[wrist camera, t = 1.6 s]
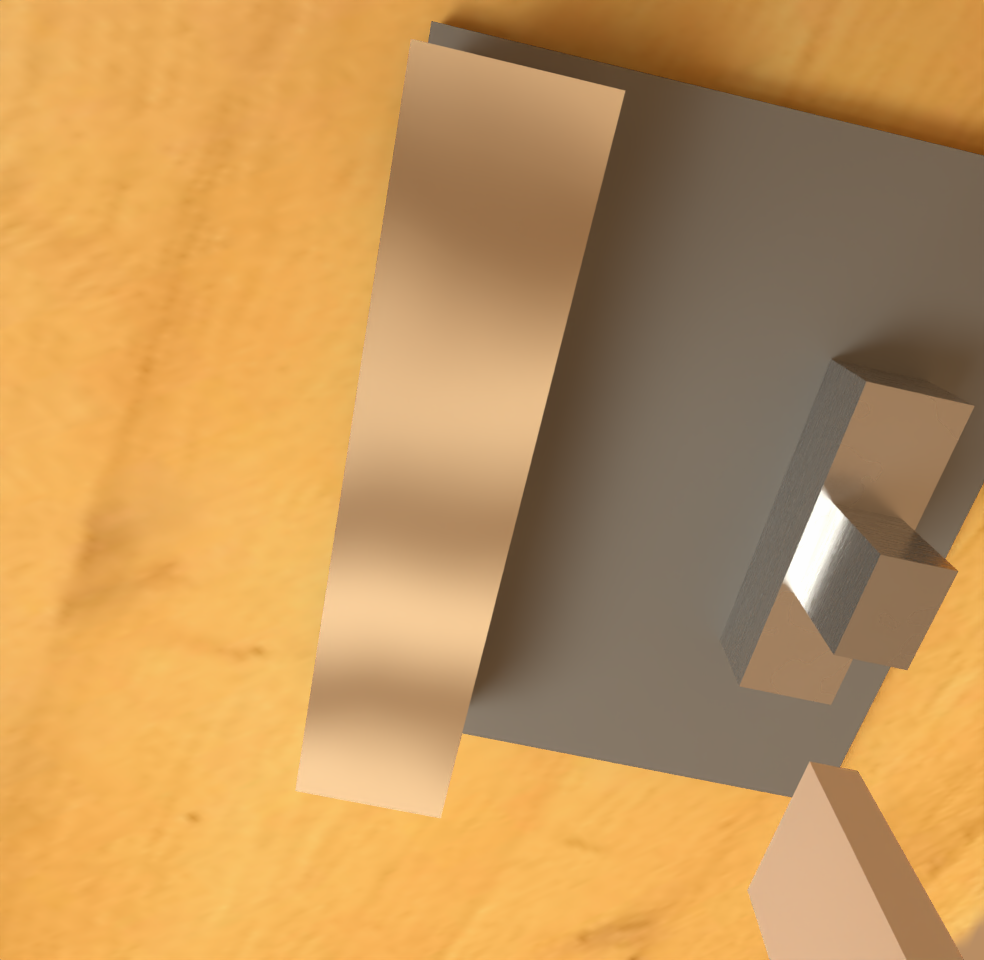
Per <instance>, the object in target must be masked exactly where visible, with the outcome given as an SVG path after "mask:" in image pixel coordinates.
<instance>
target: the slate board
mask: <svg viewBox="0 0 984 960" xmlns="http://www.w3.org/2000/svg"><path fill="white" fill-rule="evenodd" d="M428 43H431V44H435V45H439V46H443V47H447V48H451V49H456V50H460V51H464V52H468V53H472V54H476V55H480V56H484V57H489V58H493V59H497V60H501V61H505V62H509V63H513V64H517V65H522V66H526V67H530V68H534V69H538V70H542V71H546V72H551V73H555V74H559V75H563V76H567V77H571V78H575V79H579V80H584V81H588V82H592V83H596V84H600V85H604V86H608V87H612V88H617V89H621V90H625V94H624V98H623V102H622V106H621V110H620V114H619V118H618V122H617V126H616V130H615V133H614V137H613V141H612V145H611V149H610V153H609V157H608V161H607V165H606V169H605V173H604V177H603V181H602V185H601V189H600V193H599V196H598V200H597V204H596V208H595V212H594V216H593V220H592V224H591V228H590V232H589V236H588V240H587V244H586V248H585V252H584V255H583V259H582V263H581V267H580V271H579V275H578V279H577V283H576V287H575V291H574V295H573V299H572V303H571V307H570V311H569V315H568V318H567V322H566V326H565V330H564V334H563V338H562V342H561V346H560V350H559V354H558V358H557V362H556V366H555V370H554V374H553V377H552V381H551V385H550V389H549V393H548V397H547V401H546V405H545V409H544V413H543V417H542V421H541V425H540V429H539V433H538V436H537V440H536V444H535V448H534V452H533V456H532V460H531V464H530V468H529V472H528V476H527V480H526V484H525V488H524V492H523V496H522V499H521V503H520V507H519V511H518V515H517V519H516V523H515V527H514V531H513V535H512V539H511V543H510V547H509V551H508V555H507V558H506V562H505V566H504V570H503V574H502V578H501V582H500V586H499V590H498V594H497V598H496V602H495V606H494V610H493V614H492V618H491V621H490V625H489V629H488V633H487V637H486V641H485V645H484V649H483V653H482V657H481V661H480V665H479V669H478V673H477V677H476V680H475V684H474V688H473V692H472V696H471V700H470V704H469V708H468V712H467V716H466V720H465V724H464V728H463V732H462V733H464V734H469V735H474V736H479V737H484V738H489V739H495V740H500V741H505V742H510V743H515V744H520V745H525V746H531V747H536V748H541V749H546V750H551V751H556V752H561V753H567V754H572V755H577V756H582V757H587V758H592V759H597V760H602V761H608V762H613V763H618V764H623V765H628V766H633V767H638V768H644V769H649V770H654V771H659V772H664V773H669V774H674V775H680V776H685V777H690V778H695V779H700V780H705V781H710V782H716V783H721V784H726V785H731V786H736V787H741V788H746V789H752V790H757V791H762V792H767V793H772V794H777V795H782V796H788V797H793V795H794V793H795V790H796V788H797V786H798V784H799V782H800V780H801V778H802V776H803V774H804V772H805V770H806V768H807V766H808V764H809V761H810V762H815V763H820V764H825V765H830V766H835V767H840V766H841V764H842V762H843V760H844V758H845V756H846V754H847V752H848V750H849V748H850V746H851V744H852V742H853V740H854V738H855V736H856V734H857V732H858V730H859V728H860V726H861V724H862V722H863V720H864V718H865V716H866V714H867V712H868V710H869V708H870V706H871V704H872V702H873V701H874V699H875V697H876V695H877V693H878V691H879V689H880V687H881V685H882V683H883V681H884V679H885V677H886V675H887V673H888V671H889V669H890V666H885V665H880V664H875V663H870V662H865V661H860V660H856V659H853V660H852V662H851V664H850V667H849V669H848V671H847V673H846V675H845V677H844V679H843V681H842V683H841V685H840V687H839V689H838V692H837V694H836V696H835V698H834V700H833V702H832V704H831V705H829V704H824V703H819V702H814V701H809V700H804V699H799V698H794V697H789V696H784V695H780V694H775V693H770V692H765V691H760V690H755V689H750V688H745V687H740V686H739V685H738V682H737V680H736V678H735V675H734V673H733V670H732V668H731V666H730V663H729V661H728V659H727V656H726V654H725V651H724V649H723V647H722V644H721V642H720V638H721V636H722V633H723V631H724V628H725V626H726V623H727V621H728V618H729V616H730V613H731V611H732V608H733V605H734V603H735V600H736V598H737V595H738V593H739V590H740V588H741V585H742V583H743V580H744V578H745V575H746V573H747V570H748V567H749V565H750V562H751V560H752V557H753V555H754V552H755V550H756V547H757V545H758V542H759V540H760V537H761V535H762V532H763V529H764V527H765V524H766V522H767V519H768V517H769V514H770V512H771V509H772V507H773V504H774V502H775V499H776V497H777V494H778V491H779V489H780V486H781V484H782V481H783V479H784V476H785V474H786V471H787V469H788V466H789V464H790V461H791V459H792V456H793V453H794V451H795V448H796V446H797V443H798V441H799V438H800V436H801V433H802V431H803V428H804V426H805V423H806V421H807V418H808V415H809V413H810V410H811V408H812V405H813V403H814V400H815V398H816V395H817V393H818V390H819V388H820V385H821V383H822V380H823V377H824V375H825V372H826V370H827V367H828V365H829V362H830V360H831V359H833V360H837V361H842V362H846V363H851V364H855V365H859V366H864V367H868V368H873V369H877V370H882V371H886V372H890V373H895V374H899V375H904V376H908V377H912V378H917V379H921V380H926V381H929V382H931V383H933V384H935V385H936V386H938V387H940V388H942V389H944V390H946V391H948V392H950V393H951V394H953V395H955V396H957V397H959V398H961V399H963V400H965V401H966V402H968V403H970V404H972V405H974V408H973V410H972V412H971V415H970V417H969V419H968V421H967V423H966V425H965V427H964V429H963V431H962V433H961V435H960V437H959V440H958V442H957V444H956V446H955V448H954V450H953V452H952V454H951V456H950V458H949V460H948V462H947V465H946V467H945V469H944V471H943V473H942V475H941V477H940V479H939V481H938V483H937V485H936V487H935V490H934V492H933V494H932V496H931V498H930V500H929V502H928V504H927V506H926V508H925V510H924V512H923V515H922V517H921V519H920V521H919V523H918V525H917V527H916V529H915V532H917V533H918V534H919V535H920V536H921V537H922V538H923V539H924V540H925V541H926V542H927V543H928V544H929V545H931V546H932V547H933V548H934V549H935V550H936V551H937V552H938V553H939V554H940V555H941V556H942V557H943V558H944V559H945V558H946V556H947V554H948V552H949V550H950V548H951V546H952V544H953V542H954V540H955V538H956V536H957V534H958V532H959V530H960V528H961V526H962V524H963V522H964V520H965V518H966V516H967V515H968V513H969V511H970V509H971V507H972V505H973V503H974V501H975V499H976V497H977V495H978V493H979V491H980V489H981V487H982V485H983V483H984V156H983V155H979V154H975V153H971V152H967V151H963V150H959V149H954V148H950V147H946V146H942V145H938V144H934V143H930V142H926V141H922V140H917V139H913V138H909V137H905V136H901V135H897V134H893V133H889V132H885V131H881V130H876V129H872V128H868V127H864V126H860V125H856V124H852V123H848V122H844V121H840V120H835V119H831V118H827V117H823V116H819V115H815V114H811V113H807V112H803V111H798V110H794V109H790V108H786V107H782V106H778V105H774V104H770V103H766V102H762V101H757V100H753V99H749V98H745V97H741V96H737V95H733V94H729V93H725V92H720V91H716V90H712V89H708V88H704V87H700V86H696V85H692V84H688V83H684V82H679V81H675V80H671V79H667V78H663V77H659V76H655V75H651V74H647V73H642V72H638V71H634V70H630V69H626V68H622V67H618V66H614V65H610V64H606V63H601V62H597V61H593V60H589V59H585V58H581V57H577V56H573V55H569V54H565V53H560V52H556V51H552V50H548V49H544V48H540V47H536V46H532V45H528V44H523V43H519V42H515V41H511V40H507V39H503V38H499V37H495V36H491V35H487V34H482V33H478V32H474V31H470V30H466V29H462V28H458V27H454V26H450V25H445V24H441V23H437V22H433V21H432V22H431V28H430V34H429V41H428Z"/></svg>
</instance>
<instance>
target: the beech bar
mask: <svg viewBox="0 0 984 960" xmlns="http://www.w3.org/2000/svg"><path fill="white" fill-rule="evenodd" d="M624 94H625V90H621V89H617V88H612V87H608V86H604V85H600V84H596V83H592V82H588V81H584V80H579V79H575V78H571V77H567V76H563V75H559V74H555V73H551V72H546V71H542V70H538V69H534V68H530V67H526V66H522V65H517V64H513V63H509V62H505V61H501V60H497V59H493V58H489V57H484V56H480V55H476V54H472V53H468V52H464V51H460V50H456V49H451V48H447V47H443V46H439V45H435V44H431V43H427V42H422V41H418V40H414V39H411V43H410V49H409V56H408V62H407V69H406V75H405V82H404V88H403V95H402V101H401V108H400V114H399V121H398V127H397V134H396V140H395V147H394V153H393V160H392V166H391V173H390V179H389V186H388V192H387V199H386V205H385V212H384V218H383V225H382V231H381V238H380V244H379V251H378V257H377V264H376V270H375V277H374V283H373V290H372V296H371V303H370V309H369V316H368V322H367V329H366V335H365V342H364V348H363V355H362V361H361V368H360V374H359V381H358V387H357V394H356V400H355V407H354V413H353V420H352V426H351V433H350V439H349V446H348V452H347V459H346V465H345V472H344V478H343V485H342V491H341V498H340V504H339V511H338V517H337V524H336V530H335V537H334V543H333V550H332V556H331V563H330V569H329V576H328V582H327V589H326V595H325V602H324V608H323V615H322V621H321V628H320V634H319V641H318V647H317V654H316V660H315V667H314V674H313V680H312V687H311V693H310V700H309V706H308V713H307V719H306V726H305V732H304V739H303V745H302V752H301V758H300V765H299V771H298V778H297V784H296V791H298V792H304V793H309V794H314V795H320V796H325V797H330V798H336V799H341V800H346V801H352V802H357V803H362V804H368V805H373V806H378V807H383V808H389V809H394V810H399V811H405V812H410V813H415V814H421V815H426V816H431V817H437V818H441V814H442V810H443V806H444V802H445V799H446V795H447V791H448V787H449V783H450V779H451V775H452V771H453V767H454V763H455V759H456V755H457V751H458V747H459V743H460V740H461V736H462V732H463V728H464V724H465V720H466V716H467V712H468V708H469V704H470V700H471V696H472V692H473V688H474V684H475V680H476V677H477V673H478V669H479V665H480V661H481V657H482V653H483V649H484V645H485V641H486V637H487V633H488V629H489V625H490V621H491V618H492V614H493V610H494V606H495V602H496V598H497V594H498V590H499V586H500V582H501V578H502V574H503V570H504V566H505V562H506V558H507V555H508V551H509V547H510V543H511V539H512V535H513V531H514V527H515V523H516V519H517V515H518V511H519V507H520V503H521V499H522V496H523V492H524V488H525V484H526V480H527V476H528V472H529V468H530V464H531V460H532V456H533V452H534V448H535V444H536V440H537V436H538V433H539V429H540V425H541V421H542V417H543V413H544V409H545V405H546V401H547V397H548V393H549V389H550V385H551V381H552V377H553V374H554V370H555V366H556V362H557V358H558V354H559V350H560V346H561V342H562V338H563V334H564V330H565V326H566V322H567V318H568V315H569V311H570V307H571V303H572V299H573V295H574V291H575V287H576V283H577V279H578V275H579V271H580V267H581V263H582V259H583V255H584V252H585V248H586V244H587V240H588V236H589V232H590V228H591V224H592V220H593V216H594V212H595V208H596V204H597V200H598V196H599V193H600V189H601V185H602V181H603V177H604V173H605V169H606V165H607V161H608V157H609V153H610V149H611V145H612V141H613V137H614V133H615V130H616V126H617V122H618V118H619V114H620V110H621V106H622V102H623V98H624Z"/></svg>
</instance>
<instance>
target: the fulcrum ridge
mask: <svg viewBox="0 0 984 960" xmlns="http://www.w3.org/2000/svg"><path fill="white" fill-rule="evenodd" d="M973 408H974V405H972V404H970V403H968V402H966V401H965V400H963V399H961V398H959V397H957V396H955V395H953V394H951V393H950V392H948V391H946V390H944V389H942V388H940V387H938V386H936V385H935V384H933V383H931V382H929V381H926V380H921V379H917V378H912V377H908V376H904V375H899V374H895V373H890V372H886V371H882V370H877V369H873V368H868V367H864V366H859V365H855V364H851V363H846V362H842V361H837V360H833V359H831V360H830V362H829V365H828V367H827V370H826V372H825V375H824V377H823V380H822V383H821V385H820V388H819V390H818V393H817V395H816V398H815V400H814V403H813V405H812V408H811V410H810V413H809V415H808V418H807V421H806V423H805V426H804V428H803V431H802V433H801V436H800V438H799V441H798V443H797V446H796V448H795V451H794V453H793V456H792V459H791V461H790V464H789V466H788V469H787V471H786V474H785V476H784V479H783V481H782V484H781V486H780V489H779V491H778V494H777V497H776V499H775V502H774V504H773V507H772V509H771V512H770V514H769V517H768V519H767V522H766V524H765V527H764V529H763V532H762V535H761V537H760V540H759V542H758V545H757V547H756V550H755V552H754V555H753V557H752V560H751V562H750V565H749V567H748V570H747V573H746V575H745V578H744V580H743V583H742V585H741V588H740V590H739V593H738V595H737V598H736V600H735V603H734V605H733V608H732V611H731V613H730V616H729V618H728V621H727V623H726V626H725V628H724V631H723V633H722V636H721V638H720V642H721V644H722V647H723V649H724V651H725V654H726V656H727V659H728V661H729V663H730V666H731V668H732V670H733V673H734V675H735V678H736V680H737V682H738V685H739V686H740V687H745V688H750V689H755V690H760V691H765V692H770V693H775V694H780V695H784V696H789V697H794V698H799V699H804V700H809V701H814V702H819V703H824V704H829V705H831V704H832V702H833V700H834V698H835V696H836V694H837V692H838V689H839V687H840V685H841V683H842V681H843V679H844V677H845V675H846V673H847V671H848V669H849V667H850V664H851V662H852V660H853V659H856V660H860V661H865V662H870V663H875V664H880V665H885V666H890V667H895V668H899V669H904V670H908V668H909V666H910V664H911V662H912V660H913V658H914V656H915V654H916V652H917V650H918V648H919V646H920V644H921V642H922V641H923V639H924V637H925V635H926V633H927V631H928V629H929V627H930V625H931V623H932V621H933V619H934V617H935V615H936V613H937V611H938V610H939V608H940V606H941V604H942V602H943V600H944V598H945V596H946V594H947V592H948V590H949V588H950V586H951V584H952V582H953V581H954V579H955V577H956V575H957V573H958V571H957V570H956V569H955V568H954V567H953V566H952V565H951V564H950V563H949V562H948V561H947V560H946V559H944V558H943V557H942V556H941V555H940V554H939V553H938V552H937V551H936V550H935V549H934V548H933V547H932V546H931V545H929V544H928V543H927V542H926V541H925V540H924V539H923V538H922V537H921V536H920V535H919V534H918V533H917V532H915V529H916V527H917V525H918V523H919V521H920V519H921V517H922V515H923V512H924V510H925V508H926V506H927V504H928V502H929V500H930V498H931V496H932V494H933V492H934V490H935V487H936V485H937V483H938V481H939V479H940V477H941V475H942V473H943V471H944V469H945V467H946V465H947V462H948V460H949V458H950V456H951V454H952V452H953V450H954V448H955V446H956V444H957V442H958V440H959V437H960V435H961V433H962V431H963V429H964V427H965V425H966V423H967V421H968V419H969V417H970V415H971V412H972V410H973Z"/></svg>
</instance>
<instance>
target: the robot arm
mask: <svg viewBox="0 0 984 960" xmlns="http://www.w3.org/2000/svg"><path fill="white" fill-rule="evenodd" d="M748 893H749V896H750V899H751V903H752V906H753V909H754V912H755V915H756V918H757V922H758V925H759V928H760V931H761V934H762V937H763V940H764V944H765V947H766V950H767V953H768V956H769V959H770V960H964V959H963V957H962V956H961V954H960V952H959V950H958V948H957V947H956V945H955V943H954V941H953V940H952V938H951V936H950V934H949V932H948V931H947V929H946V927H945V925H944V924H943V922H942V920H941V918H940V916H939V915H938V913H937V911H936V909H935V908H934V906H933V904H932V902H931V900H930V899H929V897H928V895H927V893H926V891H925V890H924V888H923V886H922V884H921V883H920V881H919V879H918V877H917V875H916V874H915V872H914V870H913V868H912V867H911V865H910V863H909V861H908V859H907V858H906V856H905V854H904V852H903V850H902V849H901V847H900V845H899V843H898V842H897V840H896V838H895V836H894V834H893V833H892V831H891V829H890V827H889V826H888V824H887V822H886V820H885V818H884V817H883V815H882V813H881V811H880V809H879V808H878V806H877V804H876V802H875V801H874V799H873V797H872V795H871V793H870V792H869V790H868V788H867V786H866V785H865V783H864V781H863V779H862V777H861V776H860V774H859V772H858V771H855V770H850V769H845V768H840V767H835V766H830V765H825V764H820V763H815V762H810V761H809V764H808V766H807V768H806V770H805V772H804V774H803V776H802V778H801V780H800V782H799V784H798V786H797V788H796V790H795V793H794V795H793V797H792V799H791V801H790V803H789V805H788V807H787V809H786V811H785V813H784V815H783V817H782V819H781V822H780V824H779V826H778V828H777V830H776V832H775V834H774V836H773V838H772V840H771V842H770V844H769V846H768V848H767V851H766V853H765V855H764V857H763V859H762V861H761V863H760V865H759V867H758V869H757V871H756V873H755V875H754V877H753V880H752V882H751V884H750V886H749V888H748Z"/></svg>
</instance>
